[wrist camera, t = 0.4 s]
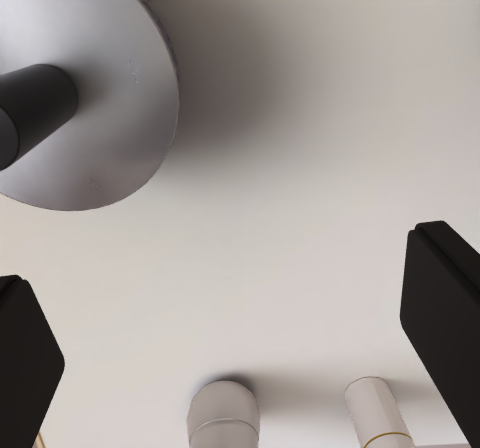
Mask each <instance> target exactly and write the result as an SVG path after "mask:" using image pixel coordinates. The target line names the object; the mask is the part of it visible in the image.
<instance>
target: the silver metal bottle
mask: <svg viewBox="0 0 480 448" xmlns="http://www.w3.org/2000/svg"><path fill="white" fill-rule="evenodd" d="M187 431H188V440H189V445H190V448H258V440H259V432H260V413H259V409H258V406H257V402H256V399H255V397H254V395H253V394H252V393H251V392H250V391H249V390H248V389H247V388H246V387H245V386H243V385H242V384H240V383H237V382H234V381H217V382H213V383H210V384H208V385H206V386H205V387H203V388H202V389H201V390H200V391H199V392H198V393H197V394H196V395H195V396H194V398H193V400H192V401H191V405H190V408H189V412H188V416H187Z"/></svg>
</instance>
